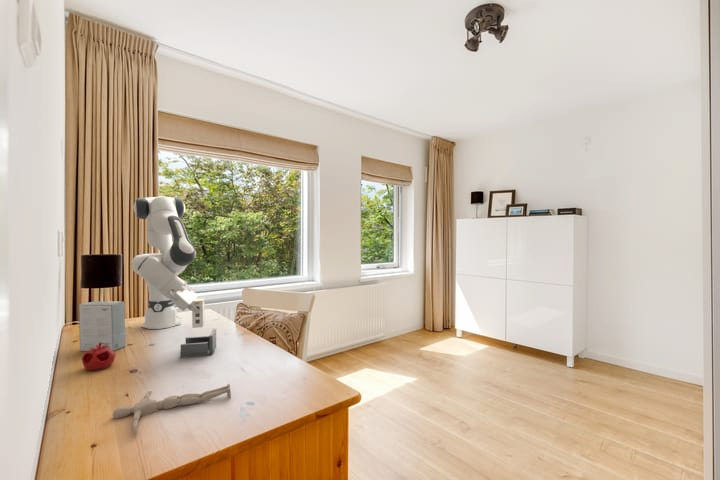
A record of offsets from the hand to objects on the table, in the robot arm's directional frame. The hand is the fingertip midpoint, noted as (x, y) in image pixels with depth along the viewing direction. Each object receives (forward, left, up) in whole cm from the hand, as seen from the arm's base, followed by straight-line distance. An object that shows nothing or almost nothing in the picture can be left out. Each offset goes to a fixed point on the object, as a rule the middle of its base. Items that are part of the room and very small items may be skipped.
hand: (200, 310), depth 147 cm
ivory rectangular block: (0, -1, -6) cm, 6 cm away
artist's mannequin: (+48, +1, -18) cm, 51 cm away
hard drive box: (-16, -42, -18) cm, 48 cm away
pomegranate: (+8, -34, -18) cm, 39 cm away
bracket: (0, -1, -17) cm, 17 cm away
